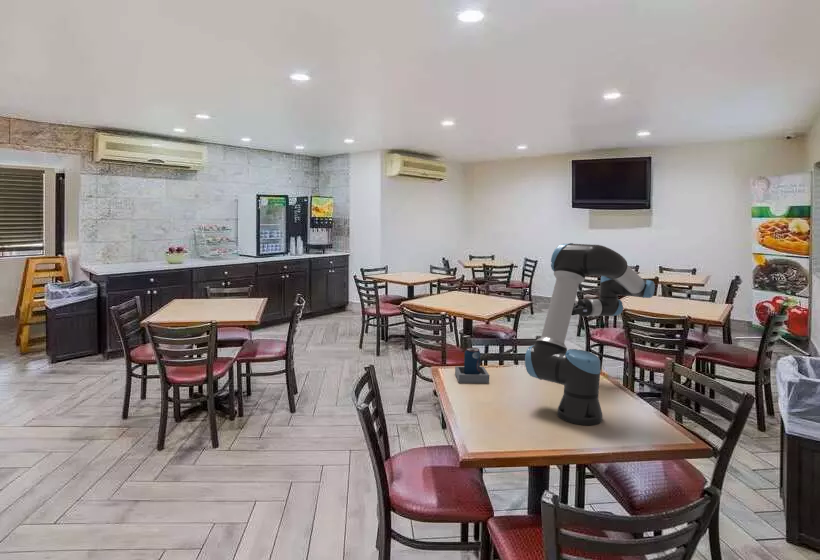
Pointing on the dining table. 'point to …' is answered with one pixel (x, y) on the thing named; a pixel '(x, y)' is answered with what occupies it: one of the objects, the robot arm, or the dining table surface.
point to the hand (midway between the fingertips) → (544, 308)
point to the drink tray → (471, 376)
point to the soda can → (472, 361)
